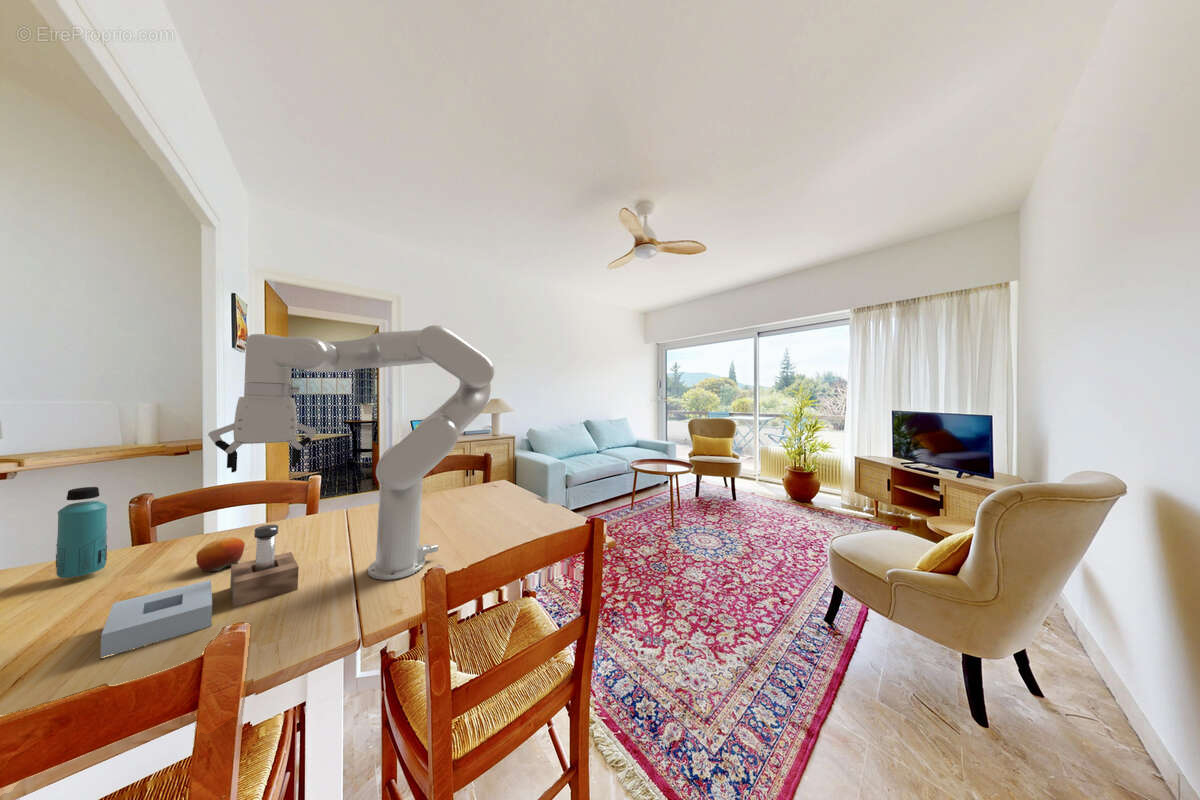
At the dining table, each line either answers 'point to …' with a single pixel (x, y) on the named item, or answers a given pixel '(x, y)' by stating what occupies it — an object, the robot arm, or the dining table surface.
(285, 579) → the block
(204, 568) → the fruit
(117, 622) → the dock
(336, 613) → the dining table surface
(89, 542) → the beverage bottle
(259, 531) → the pin
